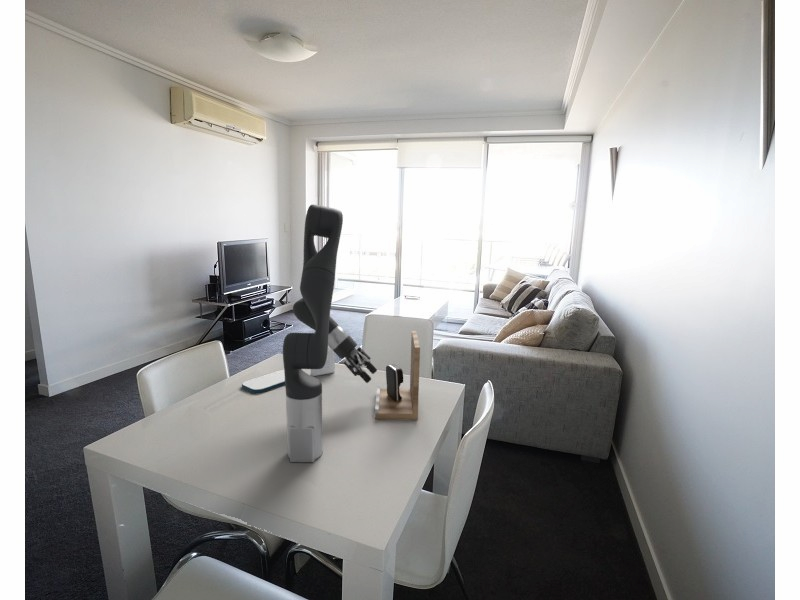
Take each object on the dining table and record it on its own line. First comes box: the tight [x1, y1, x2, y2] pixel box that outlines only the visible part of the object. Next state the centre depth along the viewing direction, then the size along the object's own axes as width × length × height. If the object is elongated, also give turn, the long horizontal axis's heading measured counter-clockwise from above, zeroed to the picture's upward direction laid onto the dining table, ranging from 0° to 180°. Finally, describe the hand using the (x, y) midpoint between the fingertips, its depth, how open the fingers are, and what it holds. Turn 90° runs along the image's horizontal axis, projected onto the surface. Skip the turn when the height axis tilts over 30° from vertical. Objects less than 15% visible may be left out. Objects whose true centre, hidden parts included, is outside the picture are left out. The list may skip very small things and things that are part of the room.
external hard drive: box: [241, 368, 285, 395], centre depth 159 cm, size 24×12×2 cm, turn 143°
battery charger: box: [385, 363, 404, 401], centre depth 142 cm, size 7×4×11 cm, turn 28°
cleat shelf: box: [374, 330, 421, 421], centre depth 139 cm, size 20×14×24 cm
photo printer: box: [310, 346, 336, 377], centre depth 169 cm, size 10×4×12 cm, turn 123°
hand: (372, 376), depth 141 cm, fingers open, 8 cm apart
